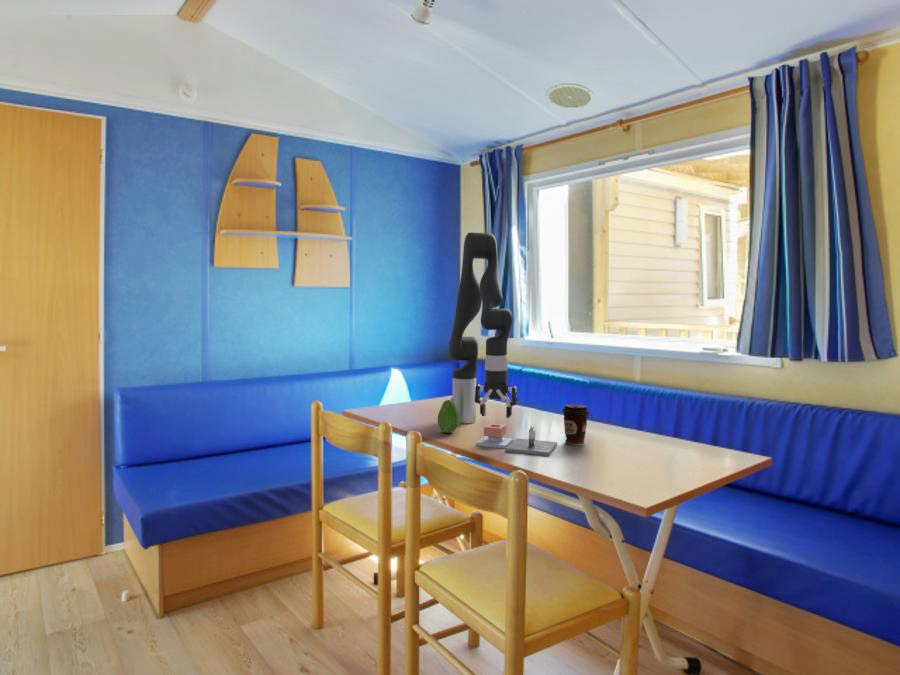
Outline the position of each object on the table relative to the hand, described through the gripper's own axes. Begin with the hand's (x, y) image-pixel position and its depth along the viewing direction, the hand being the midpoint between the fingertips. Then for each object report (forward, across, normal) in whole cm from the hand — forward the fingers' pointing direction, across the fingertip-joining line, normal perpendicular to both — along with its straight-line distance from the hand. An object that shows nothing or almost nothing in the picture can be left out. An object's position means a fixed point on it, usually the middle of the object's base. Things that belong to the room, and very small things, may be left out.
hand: (495, 416), depth 205 cm
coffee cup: (+10, +25, +10) cm, 28 cm away
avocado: (+9, -20, +9) cm, 24 cm away
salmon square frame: (+6, 0, 0) cm, 6 cm away
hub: (+9, +13, -2) cm, 16 cm away
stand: (+9, 0, 0) cm, 9 cm away
